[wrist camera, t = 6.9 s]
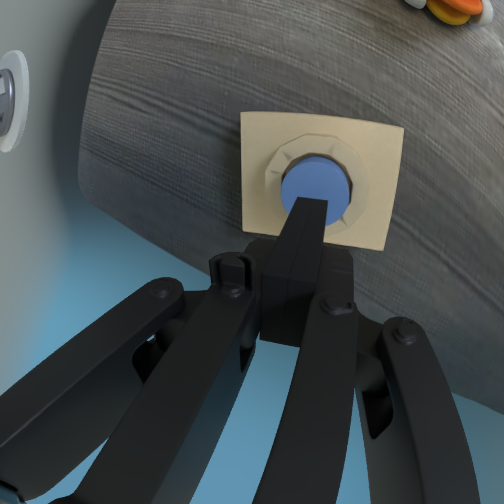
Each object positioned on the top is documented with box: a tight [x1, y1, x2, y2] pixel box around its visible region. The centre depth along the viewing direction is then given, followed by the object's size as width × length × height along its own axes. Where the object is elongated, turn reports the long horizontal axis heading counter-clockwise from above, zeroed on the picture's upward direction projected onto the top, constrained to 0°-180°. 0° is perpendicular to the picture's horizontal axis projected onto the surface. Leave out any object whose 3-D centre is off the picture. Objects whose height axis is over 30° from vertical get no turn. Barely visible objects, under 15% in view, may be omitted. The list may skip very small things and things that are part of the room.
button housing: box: [241, 111, 404, 251], centre depth 20 cm, size 12×10×4 cm
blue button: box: [281, 156, 349, 226], centre depth 17 cm, size 4×4×2 cm
